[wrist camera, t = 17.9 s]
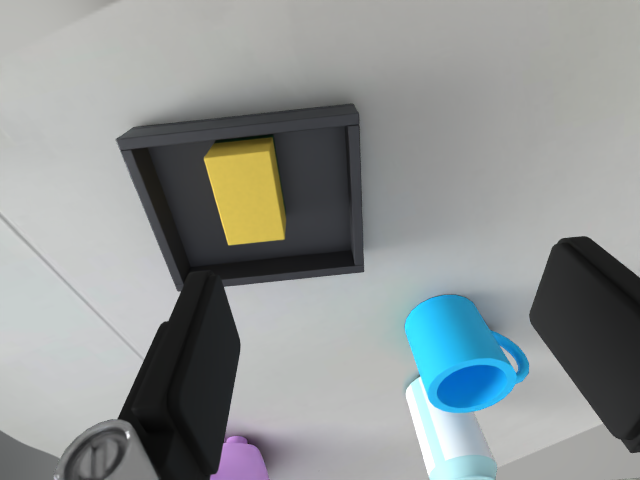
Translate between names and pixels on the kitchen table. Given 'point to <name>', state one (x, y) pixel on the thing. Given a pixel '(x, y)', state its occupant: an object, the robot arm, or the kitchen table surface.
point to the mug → (461, 355)
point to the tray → (297, 185)
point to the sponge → (247, 188)
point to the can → (449, 440)
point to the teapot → (240, 461)
